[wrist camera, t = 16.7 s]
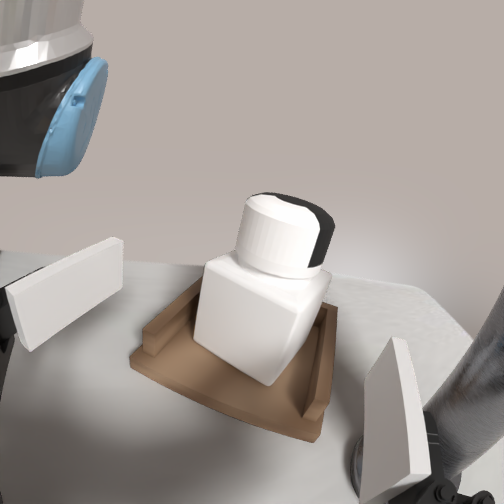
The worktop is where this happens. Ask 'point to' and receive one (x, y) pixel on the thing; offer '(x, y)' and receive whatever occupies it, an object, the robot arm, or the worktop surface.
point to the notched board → (235, 381)
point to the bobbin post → (465, 403)
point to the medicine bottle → (266, 286)
